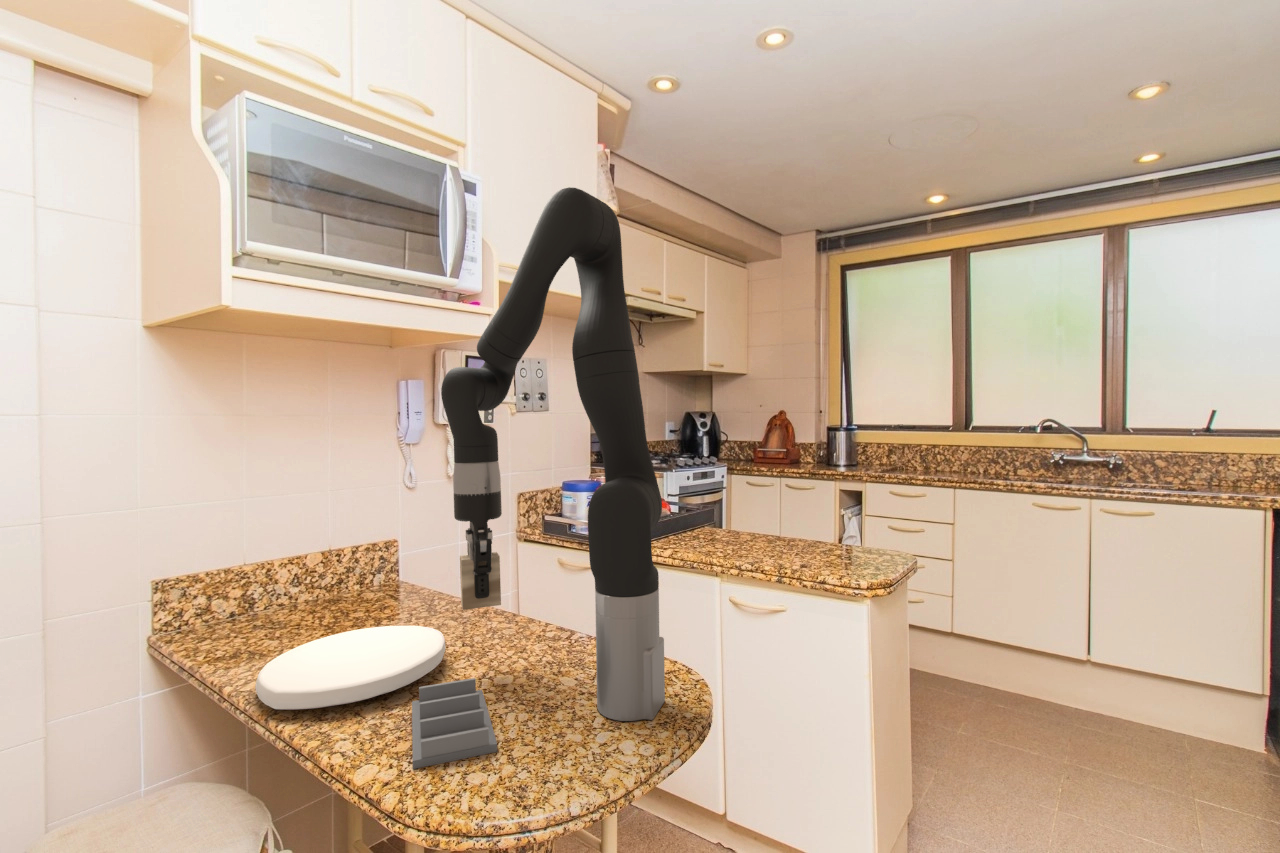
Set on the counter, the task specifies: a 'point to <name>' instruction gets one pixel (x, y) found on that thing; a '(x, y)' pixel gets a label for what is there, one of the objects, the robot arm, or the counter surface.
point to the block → (469, 587)
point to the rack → (450, 723)
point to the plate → (349, 666)
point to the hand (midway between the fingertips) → (480, 593)
